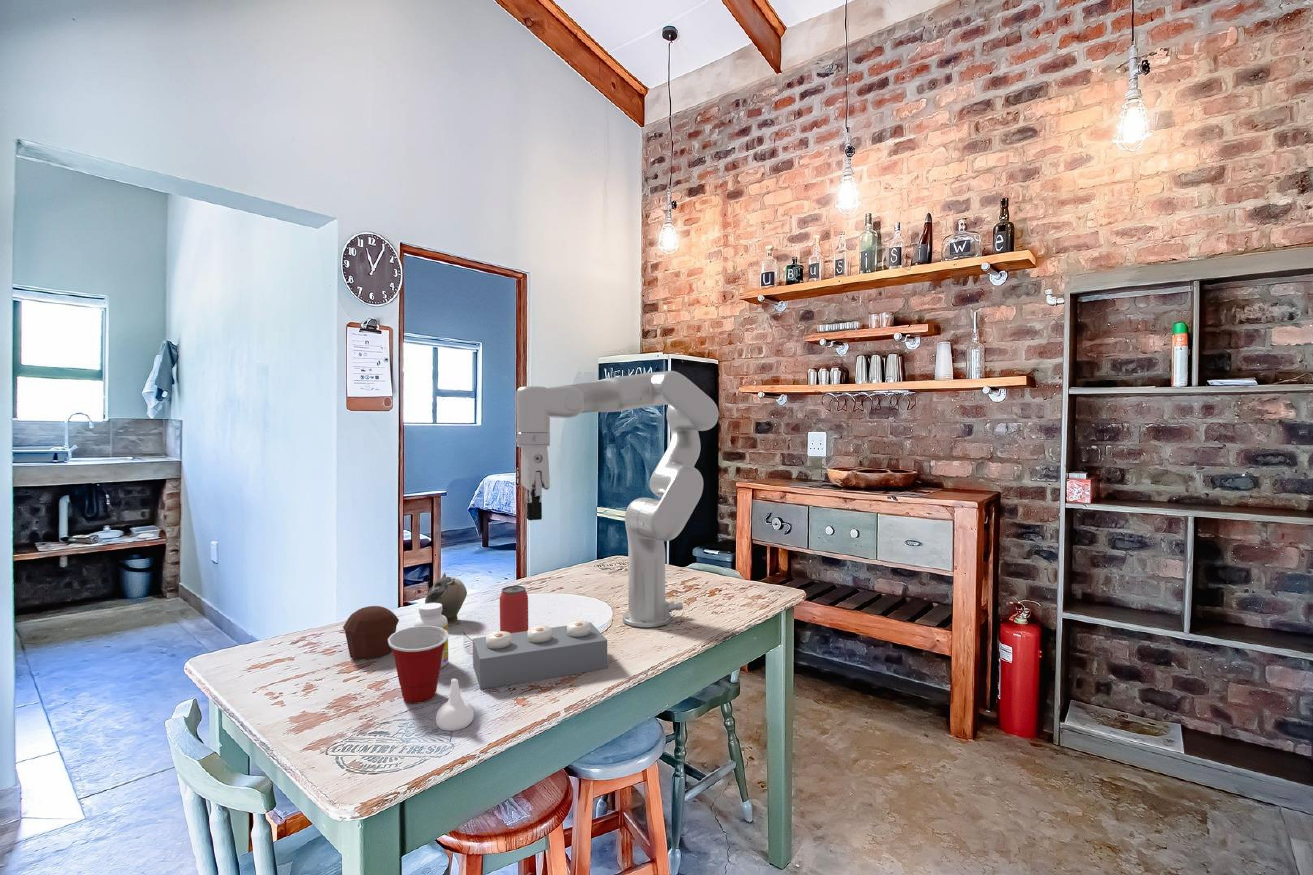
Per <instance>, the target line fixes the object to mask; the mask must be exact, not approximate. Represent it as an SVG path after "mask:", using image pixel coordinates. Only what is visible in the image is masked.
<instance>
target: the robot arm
mask: <svg viewBox="0 0 1313 875" xmlns="http://www.w3.org/2000/svg"><path fill="white" fill-rule="evenodd" d="M515 393H516V394H515V397H516V398H515V399H516V400H515V401H516V402H515V403H516V404H515V405H516V406H515V407H516V411H515V412H516V413H515V414H516V447H518V448H520V449H521V453H520V477H521V486H522V487H523V488H524V489H525V490H526V493H525V495H526V519H527V520H528V521H541V520H542V519H543V512H542V511H543V502H542V498H543V497H542V493H543V492H542V491H543V489H544V490H546V491H548V490H549V489H550V487H551V483H550V480H551V479H550V462H549V461H550V460H549V451H548V447H551V418H555V419H556V418H557V419H558V418H559V419H572V418H575V417H578V416H579V415H581V414H585V413H616V412H625V411H629V410H635V409H642V408H648V407H653V406H668V407H667V409H666V420H667V424H668V426H669V429H670V440H669V444H668V447H667V448H666V451H665V452H664V454H663V455H662V457H661V459H660V460H659V462H658V464H657V465H656V467H655V469H654V470H653V472H652V474H651V476H650V479H649V489H650V491H651V493H652V494H654V495H655V496H657V497H658V498H660V499H656V498H655V499H654V498H650V497H638V498H635V499H634V500H633V501H631V502H630V503H629V504H628V506H627V507H626V511H625V514H624V523H625V524H624V525H625V530H626V536H627V537H626V538H627V551H628V552H627V553H628V555H627V556H628V560H627V561H628V563H627V564H628V610H627V611H626V612H624V613H623V614H622V621H623V623H625V624H627V625H629V626H631V627H636V628H637V627H638V628H656V627H661V626H664V625H667V624H669V623H670V622H671V621H672V614H671V613H672V612H673V611H681V610H683V609H684V605H683V602H674V601H673V600H672V601H667V600H666V548H665V542H668V541H669V542H670V541H672V540H674V539H675V538H677V537H678V536H679V535H680V533H681V532H682V531H683V529H684V528H685V527H686V524H687V522H688V521H689V519H690V518H691V515H692V514H693V512H694V510H695V508H696V506H697V505H698V503H699V501H700V499H701V498H702V495H703V490H704V478H703V476H702V474H701V472H700V471H699V469H697V468H696V467H695V465H696V463H697V461H698V459H699V457H700V453H701V448H702V447H701V439H700V434H699V432H700V431H701V432H704V431H709V430H711V429H712V428H714V427H715V426H716V424H718V423H717V422H718V421H719V415H720V414H719V409H718V406H717V404H716V403H715V401H714V400H713V399H712V398H711V397H710V396H709V395H708V394H706V393H705V392H704V391H703V390H702V389H700V388H699V387H698V385H696V384H695V383H694V382H692V381H691V379H689V378H688V377H686V376H685V375H683V374H682V373H680V372H678V371H675V370H667V371H654V372H647V373H638V374H631V375H621V376H614V377H607V378H602V379H599V380H594V381H588V382H583V383H582V382H581V383H574V384H572V383H571V384H565V385H559V386H558V385H557V386H551V387H550V386H549V387H545V386H538V385H536V386H535V385H534V386H533V385H531V386H530V385H529V386H528V385H527V386H521V387H519V388H518V389H517V390H516V392H515Z"/></svg>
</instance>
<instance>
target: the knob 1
mask: <svg viewBox="0 0 1313 875" xmlns="http://www.w3.org/2000/svg"><path fill="white" fill-rule="evenodd" d="M485 637H486V646H487V647H488V648H492V649H500V648H505V647H508V646H509V645H511V633H509V632H505V631H500V630H499V631H493V632H490V633H488V634H486V635H485Z"/></svg>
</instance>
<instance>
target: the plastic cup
mask: <svg viewBox="0 0 1313 875" xmlns="http://www.w3.org/2000/svg"><path fill="white" fill-rule="evenodd" d="M449 636H450V634H449V631H448V632H447V631H446V630H444V629H443V628H440V627H435V626H416V627H415V626H409V627H405V628H403V629H400V630H396V632H395V633H394V634H392V635H391V636H390V637H389V638H388V643H389V646H390V647H391V649H392V651H391V653H392V656H393V659H394V663H395V669H396V674H397V679H398V683H399V686H400V692H401V697H402V699H403V701H404V702H405V703H407V704H422V703H425V702H428V701H431V700H433V698H435V696H436V693H437V688H438V681H439V678H440V673H441V672H440V671H441V668H440V667H441V660H442V654H443V650H444V646H445V642H446V641H447V639H448V640H449Z"/></svg>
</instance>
